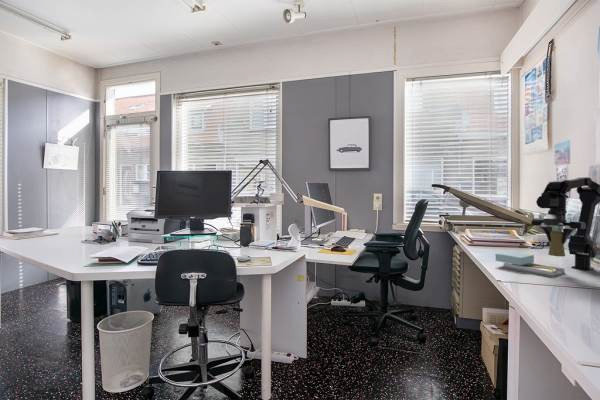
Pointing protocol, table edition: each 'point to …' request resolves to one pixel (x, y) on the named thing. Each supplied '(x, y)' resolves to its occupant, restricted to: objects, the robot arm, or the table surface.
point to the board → (536, 269)
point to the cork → (556, 244)
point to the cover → (515, 258)
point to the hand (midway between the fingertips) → (556, 243)
